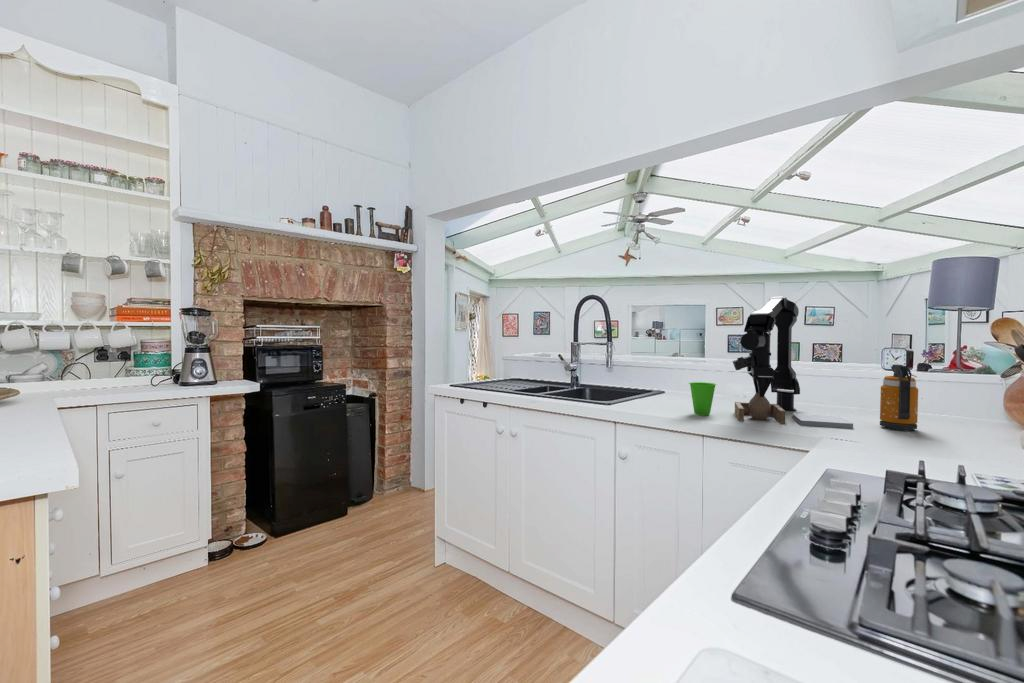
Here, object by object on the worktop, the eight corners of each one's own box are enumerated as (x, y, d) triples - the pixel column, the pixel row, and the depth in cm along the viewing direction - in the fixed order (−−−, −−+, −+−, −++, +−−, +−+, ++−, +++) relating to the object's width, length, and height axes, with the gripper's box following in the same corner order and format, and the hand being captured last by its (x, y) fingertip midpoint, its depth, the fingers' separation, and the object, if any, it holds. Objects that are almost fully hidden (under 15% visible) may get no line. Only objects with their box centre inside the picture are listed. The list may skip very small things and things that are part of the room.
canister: (911, 427, 148) (913, 363, 148) (924, 434, 138) (926, 366, 138) (876, 424, 152) (877, 362, 152) (886, 431, 142) (888, 364, 141)
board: (791, 417, 164) (791, 413, 164) (839, 420, 159) (839, 415, 159) (800, 425, 151) (800, 420, 151) (853, 428, 146) (853, 423, 146)
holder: (734, 412, 172) (734, 402, 172) (777, 415, 167) (777, 404, 167) (738, 420, 158) (739, 408, 158) (785, 423, 153) (785, 411, 153)
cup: (711, 412, 173) (711, 382, 173) (719, 416, 164) (719, 385, 164) (685, 411, 174) (686, 381, 174) (692, 416, 165) (693, 384, 165)
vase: (768, 417, 163) (769, 392, 163) (772, 421, 157) (773, 395, 157) (746, 416, 166) (746, 391, 165) (749, 420, 159) (749, 394, 159)
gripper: (731, 347, 172) (731, 390, 173) (737, 350, 155) (736, 397, 155) (766, 348, 168) (765, 392, 169) (775, 350, 151) (774, 399, 151)
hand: (759, 395), depth 161 cm, fingers open, 9 cm apart
